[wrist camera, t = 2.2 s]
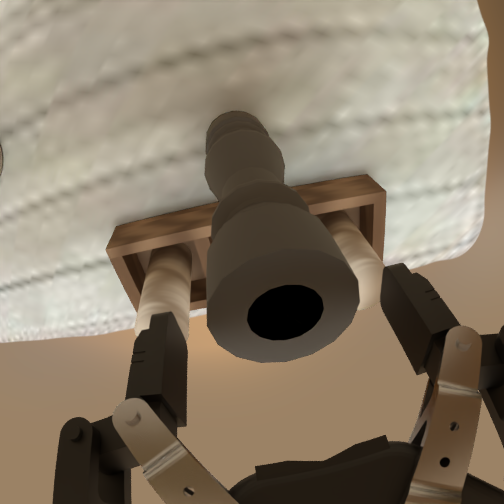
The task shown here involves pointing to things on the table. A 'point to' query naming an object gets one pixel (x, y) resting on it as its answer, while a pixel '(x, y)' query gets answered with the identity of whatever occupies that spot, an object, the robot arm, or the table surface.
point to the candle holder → (268, 253)
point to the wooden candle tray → (199, 240)
